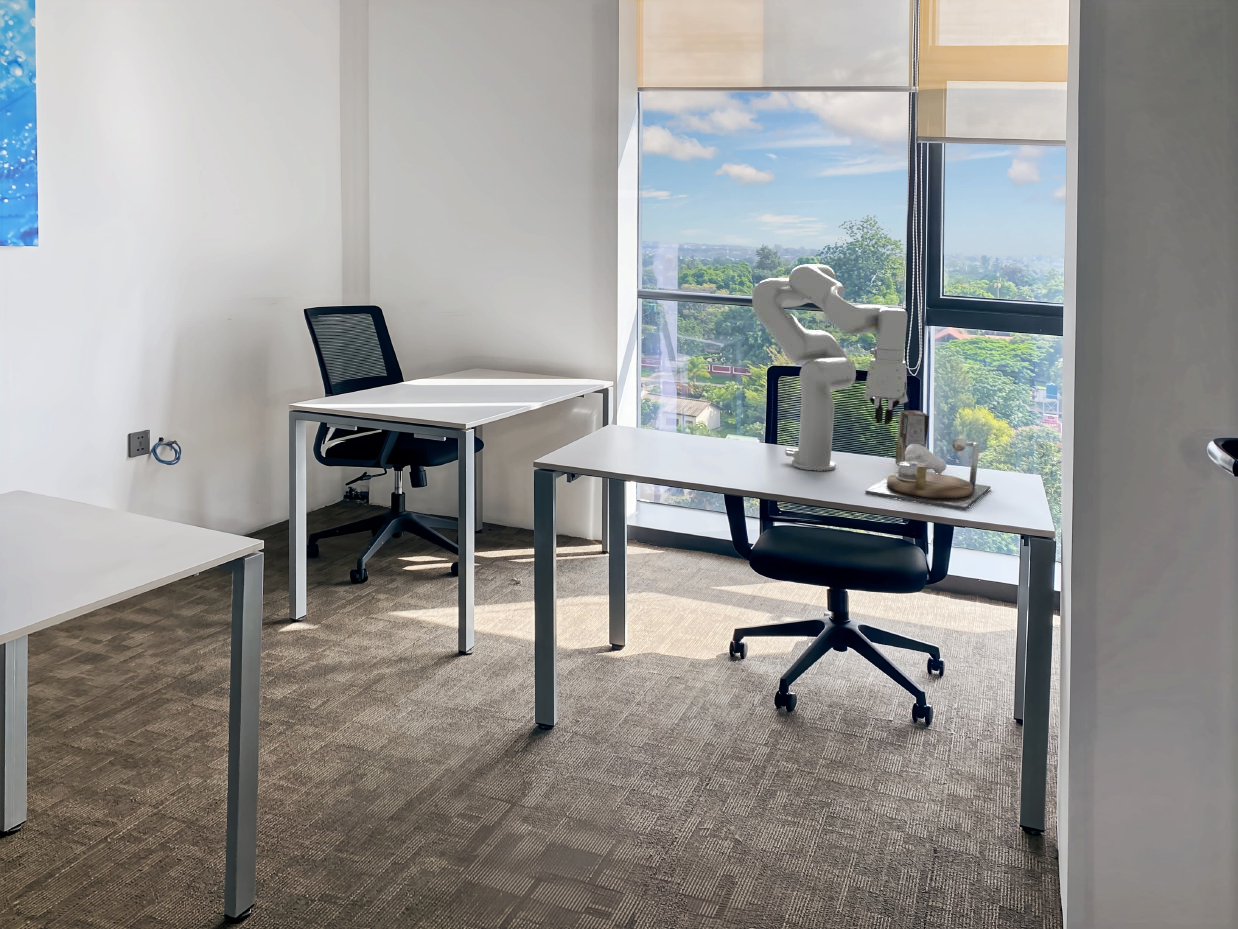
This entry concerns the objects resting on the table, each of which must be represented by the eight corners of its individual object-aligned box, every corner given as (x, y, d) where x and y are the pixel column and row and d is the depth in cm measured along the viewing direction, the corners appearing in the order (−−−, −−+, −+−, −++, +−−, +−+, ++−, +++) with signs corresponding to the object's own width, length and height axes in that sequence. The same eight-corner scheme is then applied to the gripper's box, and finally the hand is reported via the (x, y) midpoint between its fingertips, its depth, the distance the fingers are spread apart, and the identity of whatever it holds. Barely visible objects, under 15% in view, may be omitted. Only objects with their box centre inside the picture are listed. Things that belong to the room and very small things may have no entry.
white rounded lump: (905, 440, 301) (947, 446, 300) (899, 469, 303) (941, 475, 302) (909, 445, 294) (952, 451, 294) (903, 474, 296) (946, 480, 296)
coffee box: (924, 470, 304) (930, 415, 300) (902, 469, 304) (907, 415, 300) (915, 462, 312) (920, 410, 309) (894, 462, 312) (899, 409, 309)
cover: (892, 479, 280) (893, 464, 279) (901, 473, 286) (902, 459, 285) (921, 484, 276) (922, 469, 275) (929, 478, 282) (931, 463, 281)
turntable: (875, 488, 275) (878, 461, 274) (901, 473, 293) (903, 447, 292) (960, 502, 264) (963, 474, 262) (981, 485, 282) (984, 458, 280)
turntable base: (865, 494, 275) (869, 441, 272) (896, 475, 296) (900, 425, 293) (965, 510, 262) (971, 455, 258) (990, 489, 283) (996, 438, 280)
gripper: (855, 353, 279) (850, 421, 283) (914, 359, 271) (907, 428, 275) (865, 351, 285) (859, 417, 289) (922, 356, 277) (916, 424, 281)
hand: (883, 422), depth 282 cm, fingers closed
